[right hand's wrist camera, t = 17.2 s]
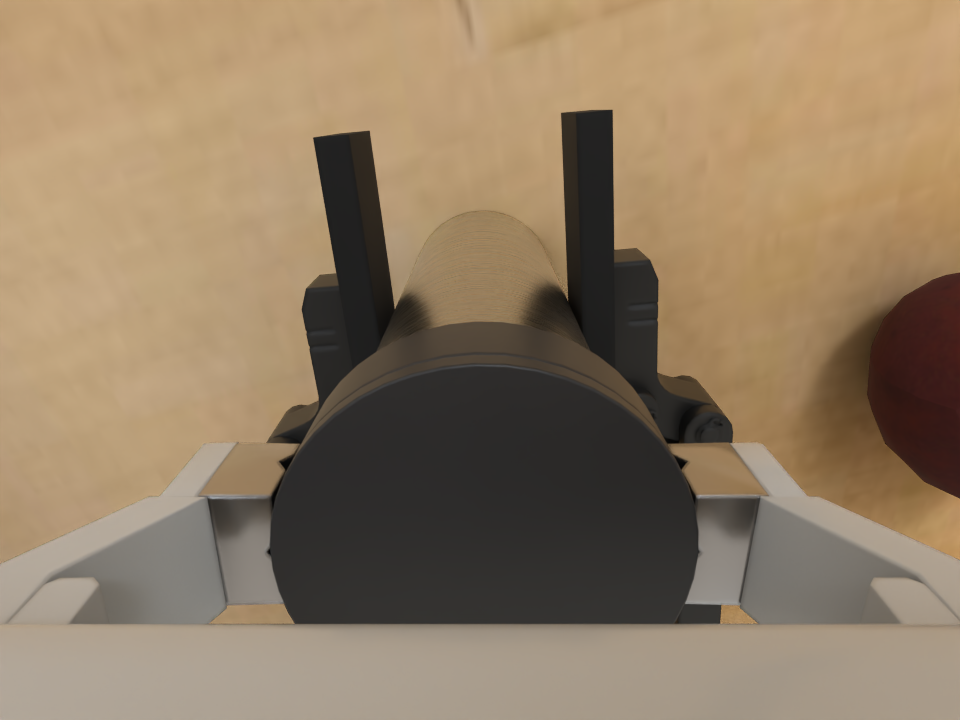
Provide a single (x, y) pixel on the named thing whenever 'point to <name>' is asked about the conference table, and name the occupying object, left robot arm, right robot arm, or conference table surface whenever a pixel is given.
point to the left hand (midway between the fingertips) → (463, 125)
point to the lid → (484, 491)
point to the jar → (483, 280)
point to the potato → (921, 381)
